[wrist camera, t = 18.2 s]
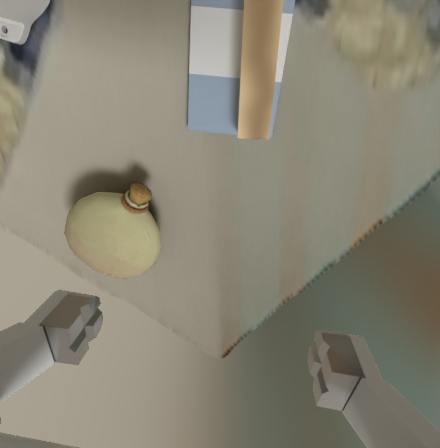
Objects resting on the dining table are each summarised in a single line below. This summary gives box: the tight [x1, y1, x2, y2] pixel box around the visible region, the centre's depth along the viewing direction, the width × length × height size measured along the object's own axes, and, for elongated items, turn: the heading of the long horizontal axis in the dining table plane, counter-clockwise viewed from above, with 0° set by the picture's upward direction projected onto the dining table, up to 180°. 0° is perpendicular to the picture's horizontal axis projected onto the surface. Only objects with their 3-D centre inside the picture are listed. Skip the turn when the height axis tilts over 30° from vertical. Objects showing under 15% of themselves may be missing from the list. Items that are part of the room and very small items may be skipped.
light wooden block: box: [238, 0, 283, 139], centre depth 30 cm, size 4×20×4 cm, turn 179°
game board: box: [188, 0, 295, 139], centre depth 31 cm, size 12×28×1 cm, turn 175°
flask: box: [64, 183, 161, 279], centre depth 43 cm, size 9×16×18 cm
